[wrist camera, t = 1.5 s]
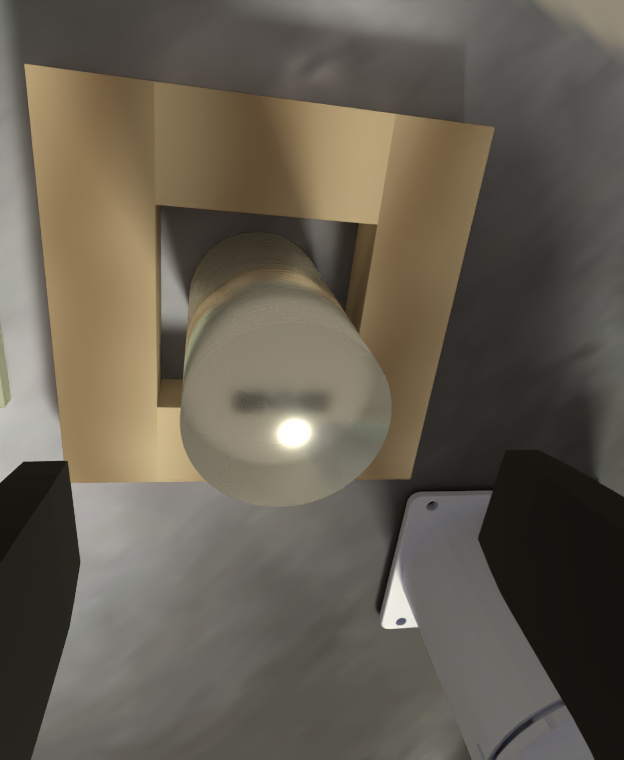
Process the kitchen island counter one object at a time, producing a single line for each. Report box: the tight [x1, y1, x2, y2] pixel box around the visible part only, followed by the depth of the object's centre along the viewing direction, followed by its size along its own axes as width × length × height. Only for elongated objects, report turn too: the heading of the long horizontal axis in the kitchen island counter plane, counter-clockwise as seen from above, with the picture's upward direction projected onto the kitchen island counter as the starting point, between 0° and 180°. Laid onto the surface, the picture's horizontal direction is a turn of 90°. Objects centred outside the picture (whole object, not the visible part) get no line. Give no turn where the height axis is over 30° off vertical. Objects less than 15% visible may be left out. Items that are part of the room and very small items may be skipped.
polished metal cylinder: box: [180, 232, 392, 507], centre depth 15 cm, size 4×4×8 cm
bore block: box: [24, 64, 495, 483], centre depth 17 cm, size 12×12×2 cm
